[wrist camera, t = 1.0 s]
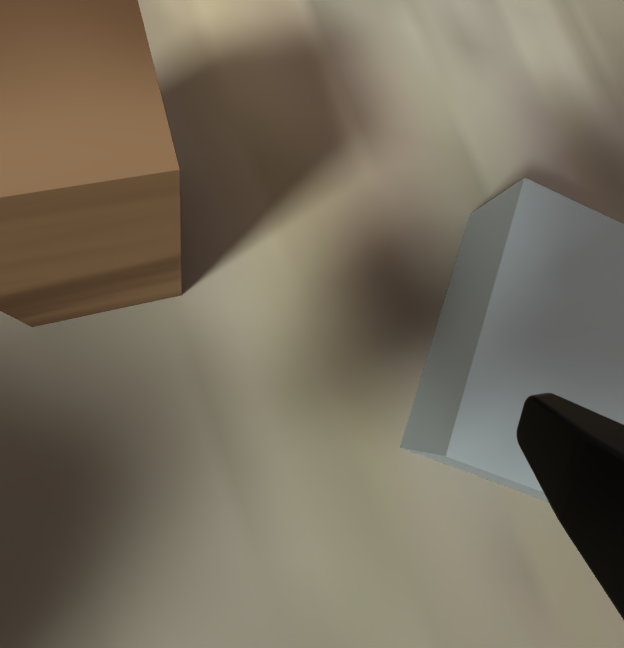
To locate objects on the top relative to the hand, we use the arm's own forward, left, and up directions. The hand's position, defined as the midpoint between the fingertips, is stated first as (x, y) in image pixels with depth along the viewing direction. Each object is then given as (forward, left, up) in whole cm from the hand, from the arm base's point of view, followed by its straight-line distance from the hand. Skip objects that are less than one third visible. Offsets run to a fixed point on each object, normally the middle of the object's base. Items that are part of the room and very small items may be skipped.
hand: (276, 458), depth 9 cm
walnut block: (+3, +8, -13) cm, 16 cm away
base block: (+9, -11, -13) cm, 20 cm away
